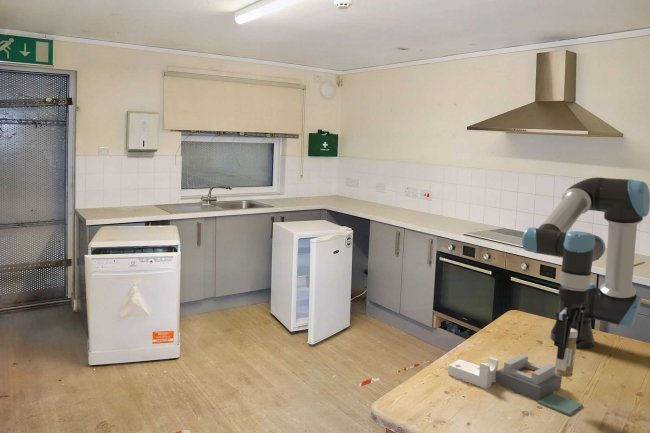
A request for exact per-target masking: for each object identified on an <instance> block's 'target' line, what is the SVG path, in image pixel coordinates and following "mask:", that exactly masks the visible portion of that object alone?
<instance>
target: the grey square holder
mask: <svg viewBox="0 0 650 433" xmlns="http://www.w3.org/2000/svg"><path fill="white" fill-rule="evenodd" d="M555 365H556V364H552V363H548V364H547V365H544V366H541V365H539V364H535V363H534V362H530V361H529V356H528V355H526V354H523V353H522V354H519V355H518V356H515V357H513V358H511V359H509V360H506V361H504V364H503V367H502V368H500V369H498V371H497V372H496V381H494V382H495V385H498V386H501V387H503V388H506V389H508V390H510V391H513V392H515V393H518V394H521V395H523V396H525V397H527V398H530V399H532V400H535V401H537V402H538V401H539V400H541V399H543V398H544V397H546V396H548V395H549V394H551V393H555V392H556V391H558V390H560V389H561V386H562V378H563V376H560V375H558V374H557V373H556V372H555V371H556V368H555ZM522 370H531V371H534V372H533V373H532V375H529V374H526V373H524V372H521V371H522Z"/></svg>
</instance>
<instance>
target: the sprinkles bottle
mask: <svg viewBox="0 0 650 433" xmlns="http://www.w3.org/2000/svg"><path fill="white" fill-rule="evenodd" d="M577 335H578V331H577V330H576V329H574V328H571V331H570V336H569V340H568V345H567V348H569V349H568V357H567V365H566V371H562V370H560V369H557V368H556V370H555V373H556V374H558V375H560V376H562V378H563V377H564V378H572V376H573V375H574V374H573V372H574V370H573V369H574V366H575V360H574V357H575V358H576V352H575V346H576V338H577ZM573 365H574V366H573Z"/></svg>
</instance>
